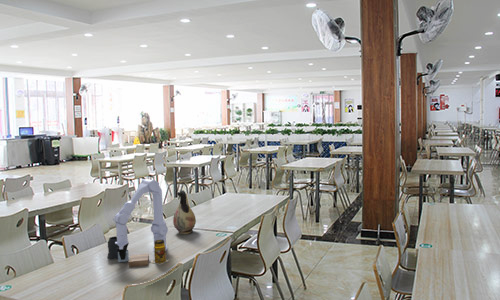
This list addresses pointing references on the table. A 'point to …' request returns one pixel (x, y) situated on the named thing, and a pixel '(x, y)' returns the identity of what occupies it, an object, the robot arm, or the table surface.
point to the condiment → (159, 252)
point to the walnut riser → (138, 260)
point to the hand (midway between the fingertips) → (123, 257)
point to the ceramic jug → (184, 216)
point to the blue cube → (125, 257)
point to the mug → (112, 248)
